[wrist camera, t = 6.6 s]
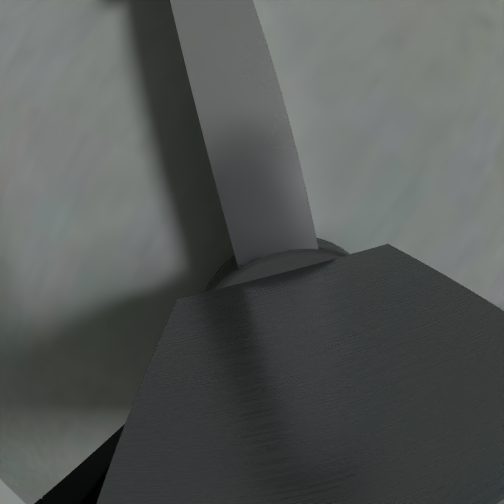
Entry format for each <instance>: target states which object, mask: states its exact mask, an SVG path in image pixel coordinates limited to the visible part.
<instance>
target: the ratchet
mask: <svg viewBox="0 0 504 504" xmlns="http://www.w3.org/2000/svg"><path fill="white" fill-rule="evenodd" d="M170 3H171V7H172V11H173V15H174V20H175V24H176V28H177V32H178V36H179V41H180V45H181V49H182V53H183V57H184V61H185V65H186V70H187V74H188V78H189V82H190V86H191V90H192V94H193V98H194V102H195V106H196V110H197V114H198V118H199V122H200V126H201V129H202V133H203V137H204V141H205V145H206V149H207V153H208V157H209V160H210V164H211V168H212V172H213V176H214V180H215V183H216V187H217V191H218V195H219V199H220V202H221V206H222V210H223V214H224V217H225V221H226V225H227V228H228V232H229V236H230V239H231V243H232V247H233V251H234V254H235V255H234V256H233V257H232V258H231V259H230V260H228V261H227V262H226V263H225V264H224V265H223V266H222V267H221V268H220V270H219V271H218V272H217V273H216V274H215V276H214V277H213V279H212V280H211V282H210V284H209V286H208V288H207V290H206V292H208V291H212V290H216V289H220V288H224V287H228V286H232V285H236V284H240V283H244V282H248V281H252V280H256V279H260V278H264V277H268V276H271V275H275V274H279V273H283V272H287V271H291V270H294V269H298V268H302V267H306V266H310V265H313V264H317V263H321V262H324V261H328V260H332V259H336V258H339V257H343V256H347V255H350V254H349V253H348V252H346V251H345V250H344V249H342V248H340V247H339V246H337V245H335V244H333V243H331V242H328V241H325V240H323V239H319V238H316V234H315V229H314V224H313V219H312V215H311V210H310V206H309V201H308V196H307V192H306V188H305V183H304V179H303V175H302V170H301V166H300V162H299V158H298V154H297V150H296V146H295V142H294V138H293V134H292V130H291V126H290V122H289V119H288V115H287V111H286V108H285V104H284V100H283V97H282V93H281V90H280V86H279V83H278V79H277V76H276V72H275V69H274V66H273V62H272V59H271V56H270V52H269V49H268V46H267V43H266V40H265V36H264V33H263V30H262V27H261V24H260V21H259V18H258V15H257V12H256V9H255V6H254V3H253V0H170Z"/></svg>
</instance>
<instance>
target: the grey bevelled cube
mask: <svg viewBox="0 0 504 504" xmlns="http://www.w3.org/2000/svg"><path fill="white" fill-rule="evenodd" d="M97 504H504V311H503V310H501V309H500V308H498V307H497V306H495V305H493V304H492V303H490V302H489V301H487V300H485V299H484V298H482V297H481V296H479V295H477V294H476V293H474V292H472V291H471V290H469V289H467V288H466V287H464V286H462V285H461V284H459V283H457V282H456V281H454V280H452V279H450V278H449V277H447V276H445V275H443V274H442V273H440V272H438V271H436V270H435V269H433V268H431V267H429V266H428V265H426V264H424V263H422V262H420V261H419V260H417V259H415V258H413V257H411V256H410V255H408V254H406V253H404V252H402V251H400V250H398V249H397V248H395V247H393V246H391V245H389V244H386V245H382V246H379V247H375V248H372V249H368V250H365V251H361V252H357V253H354V254H350V255H347V256H343V257H339V258H336V259H332V260H328V261H324V262H321V263H317V264H313V265H310V266H306V267H302V268H298V269H294V270H291V271H287V272H283V273H279V274H275V275H271V276H268V277H264V278H260V279H256V280H252V281H248V282H244V283H240V284H236V285H232V286H228V287H224V288H220V289H216V290H212V291H208V292H203V293H199V294H195V295H191V296H187V297H183V298H178V299H177V300H176V303H175V305H174V307H173V309H172V312H171V314H170V316H169V319H168V321H167V323H166V325H165V328H164V330H163V332H162V335H161V337H160V339H159V342H158V344H157V346H156V349H155V351H154V354H153V356H152V358H151V361H150V363H149V366H148V368H147V370H146V373H145V375H144V378H143V380H142V383H141V385H140V388H139V390H138V393H137V395H136V398H135V400H134V403H133V405H132V408H131V410H130V413H129V415H128V418H127V421H126V423H125V426H124V428H123V431H122V434H121V436H120V439H119V442H118V444H117V447H116V450H115V453H114V455H113V458H112V461H111V464H110V466H109V469H108V472H107V475H106V478H105V481H104V483H103V486H102V489H101V492H100V495H99V498H98V501H97Z"/></svg>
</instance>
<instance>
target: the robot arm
mask: <svg viewBox="0 0 504 504" xmlns="http://www.w3.org/2000/svg"><path fill="white" fill-rule="evenodd" d="M124 426H125V424H124V425H123V426H122V427H121V428H120V429H119V430H118V431H117V432H116V433H114V434H113V435H112V436H111V437H110V438H109V439H108V440H107V441H106V442H105V443H103V444H102V445H101V446H100V447H99V448H98V449H97V450H96V451H95V452H93V453H92V454H91V455H90V456H89V457H88V458H87V459H86V460H84V461H83V462H82V463H81V464H80V465H79V466H78V467H77V468H75V469H74V470H73V471H72V472H71V473H70V474H69V475H67V476H66V477H65V478H64V479H63V480H62V481H60V482H59V483H58V484H57V485H56V486H55V487H54V488H52V489H51V490H50V491H49V492H48V493H46V494H45V495H44V496H43V497H42V499H39V500H38V501H37V502H36V503H35V504H97V501H98V498H99V495H100V492H101V489H102V486H103V483H104V481H105V478H106V475H107V472H108V469H109V466H110V464H111V461H112V458H113V455H114V453H115V450H116V447H117V444H118V442H119V439H120V436H121V434H122V431H123V428H124Z"/></svg>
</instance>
